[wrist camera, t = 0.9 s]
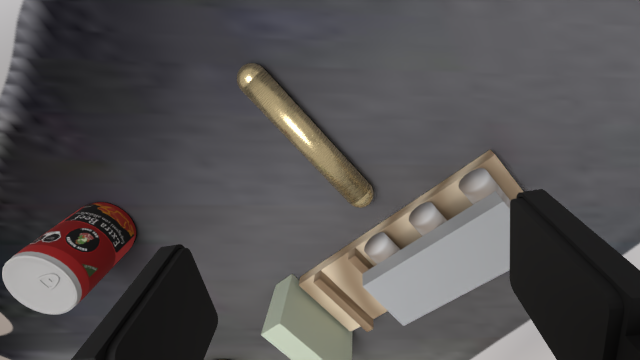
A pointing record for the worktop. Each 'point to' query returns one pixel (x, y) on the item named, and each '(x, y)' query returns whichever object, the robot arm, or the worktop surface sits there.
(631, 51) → the worktop surface
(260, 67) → the brass roller
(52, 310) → the canned food
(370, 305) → the roller track
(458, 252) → the slab
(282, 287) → the bar
